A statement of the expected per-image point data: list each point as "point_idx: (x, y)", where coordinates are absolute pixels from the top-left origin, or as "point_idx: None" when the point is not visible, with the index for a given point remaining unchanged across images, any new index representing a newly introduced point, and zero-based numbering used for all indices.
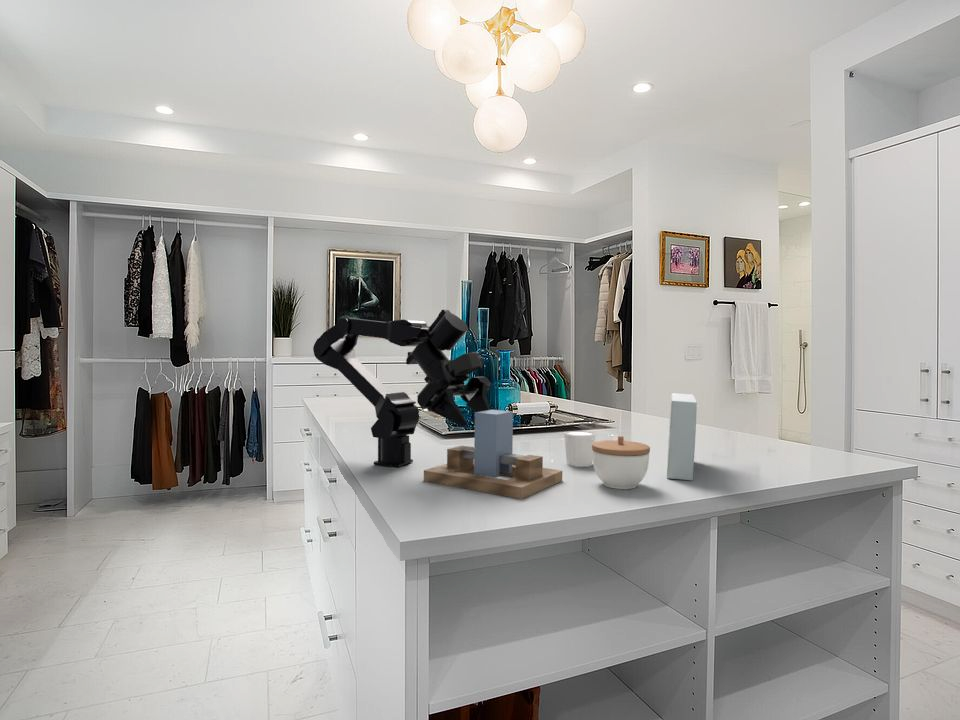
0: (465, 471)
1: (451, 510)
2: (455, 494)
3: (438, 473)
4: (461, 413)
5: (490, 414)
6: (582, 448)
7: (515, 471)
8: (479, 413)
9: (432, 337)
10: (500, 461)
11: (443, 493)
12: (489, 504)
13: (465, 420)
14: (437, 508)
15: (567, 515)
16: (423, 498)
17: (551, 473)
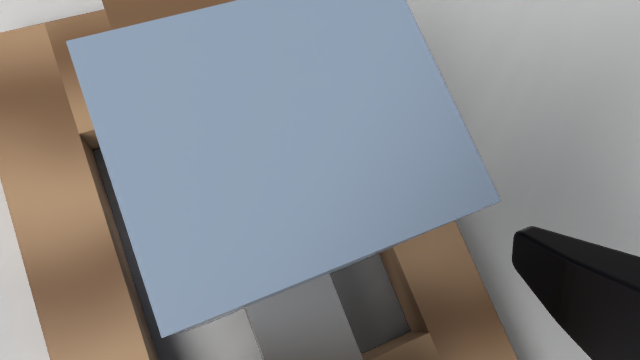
0: None
1: (571, 24)
2: (491, 154)
3: (505, 334)
4: (618, 274)
5: (415, 26)
6: None
7: (113, 232)
8: (472, 145)
9: None
10: None
11: (523, 189)
12: (449, 3)
13: (548, 239)
14: (599, 62)
15: None
16: (603, 174)
17: (61, 32)
